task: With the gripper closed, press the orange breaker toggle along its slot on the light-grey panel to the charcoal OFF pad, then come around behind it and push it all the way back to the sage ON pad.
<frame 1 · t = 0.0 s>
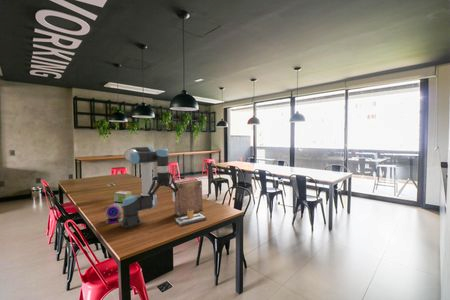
hand: (164, 203, 145), 28 cm above the table, fingers open, 13 cm apart
webcam: (114, 220, 190), on the table
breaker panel: (190, 219, 189), on the table
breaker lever: (190, 213, 188), point 6 cm above the table, slide at 0.0 cm
cord left: (186, 217, 196), on the table
tea box: (123, 205, 234), on the table
book: (189, 212, 209), on the table
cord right: (194, 222, 182), on the table
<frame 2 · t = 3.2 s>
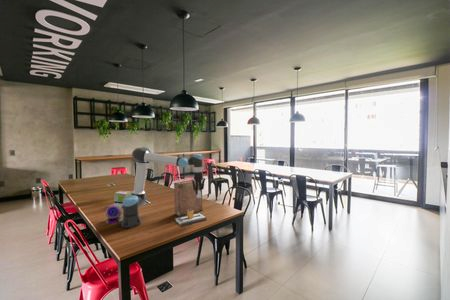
hand: (198, 197, 192), 18 cm above the table, fingers closed
nothing on the table moved.
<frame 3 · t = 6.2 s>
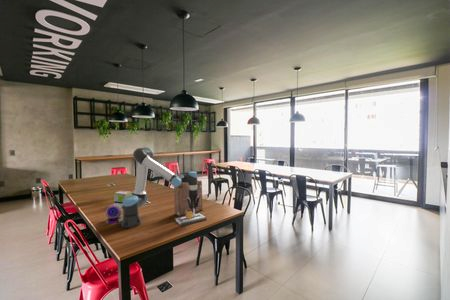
hand: (193, 215, 190), 3 cm above the table, fingers closed
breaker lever: (188, 213, 187), point 6 cm above the table, slide at -1.4 cm, touching gripper
everything else where it was.
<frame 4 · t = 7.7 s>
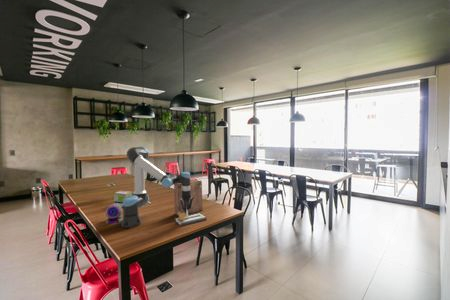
hand: (186, 216, 187), 3 cm above the table, fingers closed
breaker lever: (181, 215, 184), point 6 cm above the table, slide at -7.9 cm, touching gripper
everything else where it was.
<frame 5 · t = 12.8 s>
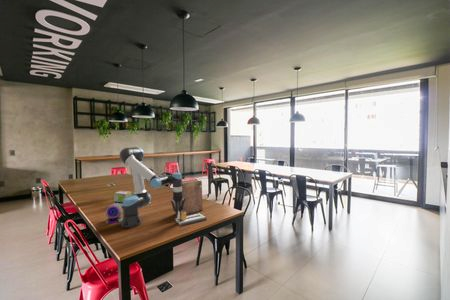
hand: (178, 218, 182), 4 cm above the table, fingers closed
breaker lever: (183, 215, 185), point 6 cm above the table, slide at -6.7 cm, touching gripper
everything else where it was.
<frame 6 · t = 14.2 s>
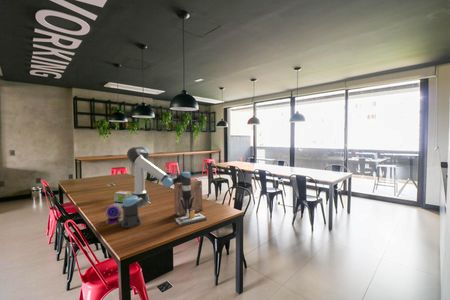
hand: (187, 216, 187), 4 cm above the table, fingers closed
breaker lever: (191, 213, 189), point 6 cm above the table, slide at 1.4 cm, touching gripper
everything else where it was.
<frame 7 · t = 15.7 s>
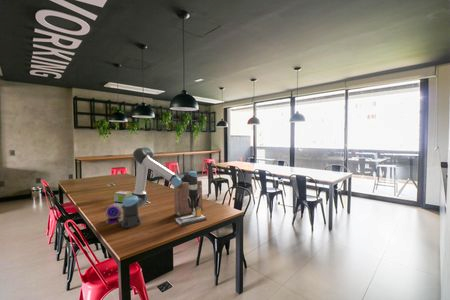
hand: (193, 215, 190), 4 cm above the table, fingers closed
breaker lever: (198, 211, 192), point 6 cm above the table, slide at 7.5 cm, touching gripper
everything else where it was.
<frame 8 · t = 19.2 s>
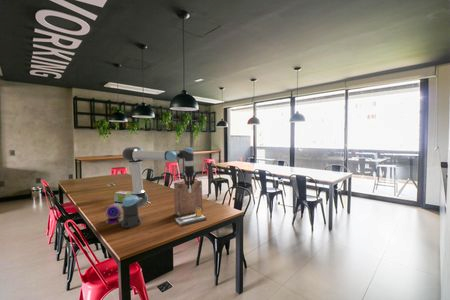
hand: (189, 192, 187), 24 cm above the table, fingers closed
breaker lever: (198, 211, 192), point 6 cm above the table, slide at 7.9 cm
everything else where it was.
at the end: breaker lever slide at 7.9 cm; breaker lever touching nothing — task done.
